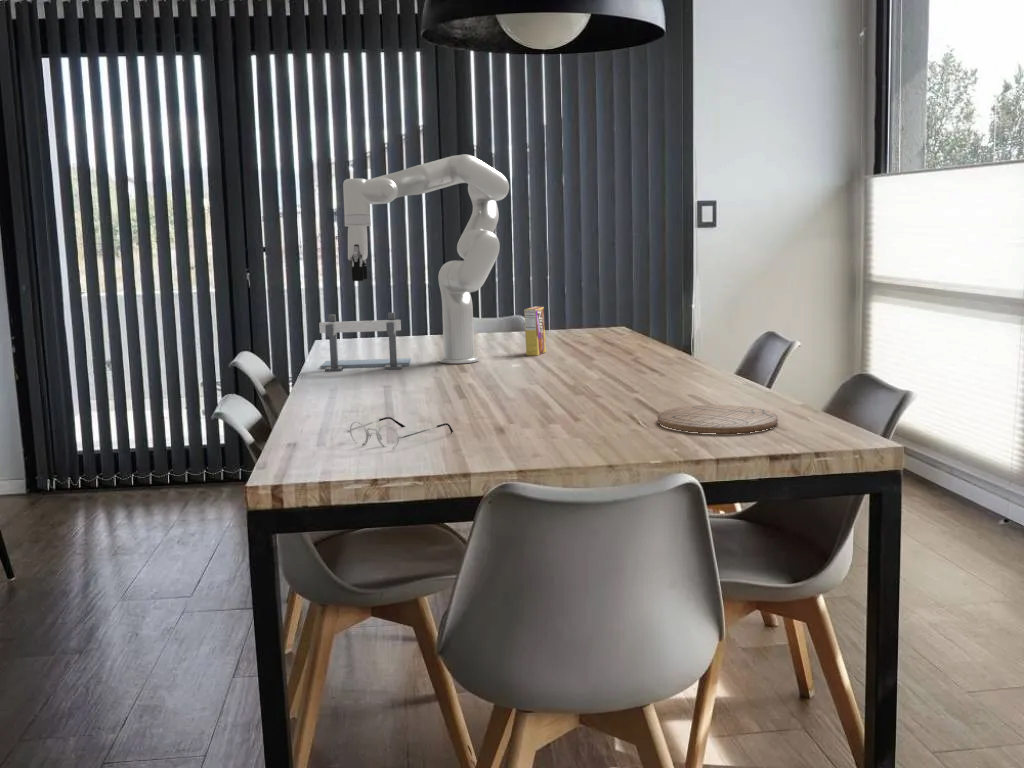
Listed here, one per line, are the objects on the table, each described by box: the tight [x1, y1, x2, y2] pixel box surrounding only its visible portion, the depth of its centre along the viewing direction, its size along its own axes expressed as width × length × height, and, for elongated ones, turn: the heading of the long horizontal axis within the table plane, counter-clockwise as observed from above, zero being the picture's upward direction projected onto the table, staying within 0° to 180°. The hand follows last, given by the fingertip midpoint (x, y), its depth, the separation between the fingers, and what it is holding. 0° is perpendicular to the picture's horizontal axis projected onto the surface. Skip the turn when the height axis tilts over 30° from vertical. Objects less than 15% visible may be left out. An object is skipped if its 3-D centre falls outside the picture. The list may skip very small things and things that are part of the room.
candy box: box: [523, 306, 547, 357], centre depth 334 cm, size 9×4×15 cm, turn 160°
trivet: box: [657, 404, 779, 434], centre depth 217 cm, size 25×25×2 cm
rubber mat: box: [320, 357, 412, 370], centre depth 321 cm, size 11×27×1 cm, turn 92°
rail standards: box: [324, 312, 403, 373], centre depth 309 cm, size 10×23×17 cm, turn 92°
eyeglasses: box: [346, 416, 454, 449], centre depth 211 cm, size 16×19×5 cm
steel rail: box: [318, 319, 402, 334], centre depth 306 cm, size 2×24×3 cm, turn 92°
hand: (359, 280), depth 302 cm, fingers open, 9 cm apart
